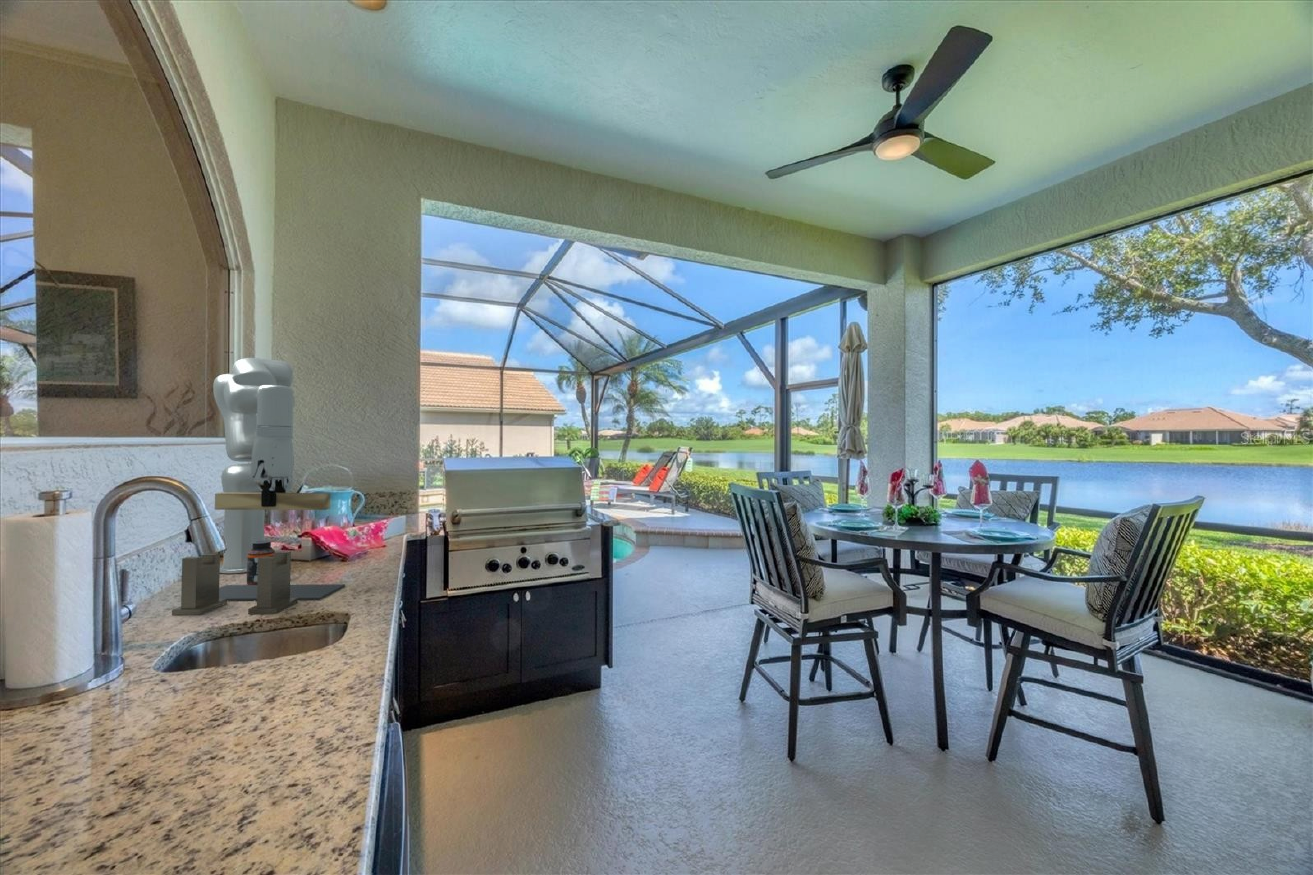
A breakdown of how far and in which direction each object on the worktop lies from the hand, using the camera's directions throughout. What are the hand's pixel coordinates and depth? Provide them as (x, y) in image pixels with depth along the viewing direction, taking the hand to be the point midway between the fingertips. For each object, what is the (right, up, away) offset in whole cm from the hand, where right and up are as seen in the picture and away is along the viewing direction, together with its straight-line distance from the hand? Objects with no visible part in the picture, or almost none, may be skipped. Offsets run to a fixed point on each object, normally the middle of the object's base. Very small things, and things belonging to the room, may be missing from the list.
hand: (273, 505), depth 132 cm
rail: (0, -1, 0) cm, 1 cm away
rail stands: (0, -23, -12) cm, 25 cm away
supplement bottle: (-10, -23, +9) cm, 27 cm away
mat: (-1, -23, 0) cm, 23 cm away
